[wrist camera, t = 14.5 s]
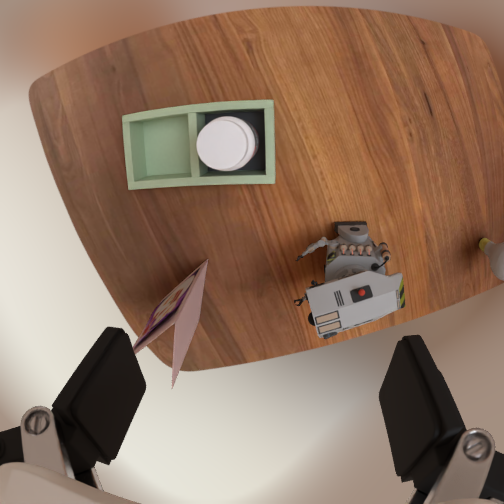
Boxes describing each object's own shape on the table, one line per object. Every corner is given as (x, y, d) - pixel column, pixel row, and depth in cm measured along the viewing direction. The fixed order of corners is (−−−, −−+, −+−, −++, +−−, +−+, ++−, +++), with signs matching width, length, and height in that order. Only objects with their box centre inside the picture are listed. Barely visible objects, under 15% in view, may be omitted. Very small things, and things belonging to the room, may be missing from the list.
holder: (138, 115, 34) (121, 115, 30) (274, 103, 33) (273, 99, 28) (143, 182, 38) (128, 190, 34) (275, 177, 36) (275, 183, 32)
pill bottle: (258, 164, 35) (251, 177, 26) (213, 163, 36) (190, 176, 27) (260, 118, 33) (253, 115, 24) (213, 118, 33) (190, 115, 24)
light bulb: (488, 258, 37) (520, 287, 28) (466, 257, 38) (499, 288, 29) (495, 227, 35) (532, 252, 26) (474, 225, 36) (510, 251, 27)
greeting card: (203, 254, 42) (169, 316, 28) (239, 289, 43) (222, 360, 30) (157, 296, 46) (117, 359, 32) (191, 326, 47) (163, 394, 34)
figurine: (291, 222, 39) (297, 276, 25) (375, 220, 37) (419, 271, 24) (292, 282, 42) (296, 354, 29) (369, 279, 41) (401, 346, 27)
